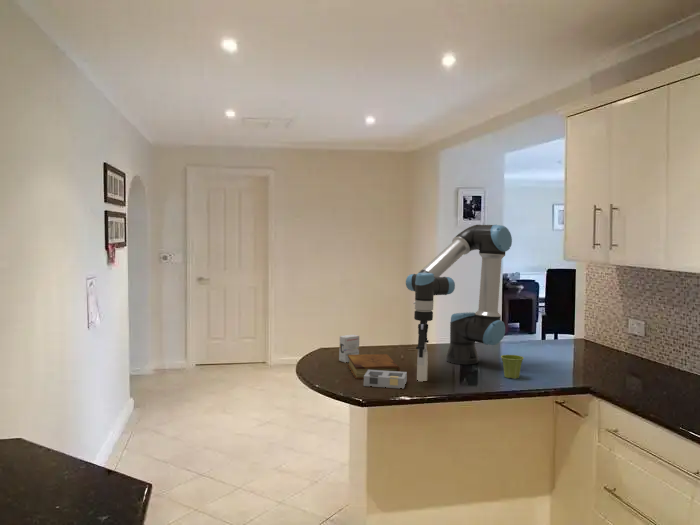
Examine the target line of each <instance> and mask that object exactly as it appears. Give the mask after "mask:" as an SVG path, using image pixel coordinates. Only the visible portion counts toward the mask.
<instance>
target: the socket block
mask: <svg viewBox="0 0 700 525" xmlns="http://www.w3.org/2000/svg"><path fill="white" fill-rule="evenodd" d="M407 377H408V374H407V371H400V372H399V371H383V370H368V371H367V372H366V374H365V375H364V379H363V387H370V386H372V388H385V387H386V388H385V389H400V388H402V389H405V386H406V385H405V384H407V381H408V380H407V379H408V378H407ZM402 389H401V390H402Z"/></svg>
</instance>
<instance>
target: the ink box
mask: <svg viewBox="0 0 700 525" xmlns="http://www.w3.org/2000/svg"><path fill="white" fill-rule="evenodd" d="M338 347H339V351H338V353H339V354H338V361H340V362H342V363H344V364H346V362H347V363H349V358H348V355H360V335H358V334H357V335H356V334H346V335H340V336H339V346H338Z"/></svg>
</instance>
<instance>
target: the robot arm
mask: <svg viewBox="0 0 700 525" xmlns="http://www.w3.org/2000/svg"><path fill="white" fill-rule="evenodd" d="M512 242H513V238H512V234H511V231H510V230H509V228H508V227H506V226H505V225H501V224H475V225H471V226H469V227H467V228H465V229H463V230H462V231H460V232H459V233H458V234H457V235H455V236H454V237H453V238H452V242H451V243H450V244H448V245H447V247H445V248H444V249H443V250H442V251H441V252H440V253H439V254H437V256H435V257H434V258H432V260H431V261H429V263H428V264H426V266H424V267H423V268H422V269H421V270H419V271H418V273H413V274H409V275H408V276H407V277H406V279H405V286H406V288H407V290H409V291H411V292H414V295H415V296H414V301H413V302H412V303H413V305H414V309H415V310H414V317H413V318H414V320H415V321H419V323H418V326H417V329H418V330H417V334H418V339H417V346H416V347H415V350H417V354H418V359H417V358H416V359H417V362H416V366H417V365H423V366H424V356H425V349H426V351H428V350H427V348H428V343H429V342H430V339H428V330H429V324H428V322H430V321H433V317H434V312H433V310H434V296H447V295H451V294H453V293H454V291H455V289H456V282H455V281H454V279H453V278H452V277H451V276H442V275H443V274H444V273H445V272H446V271H447V270H448V269H449V268H451V267H452V266H454V264H455V263H456V262H457V261H458V260H459V259H460V258H461V257H462V256H465V255H468V254H469V253H470V252H472V251H477V250H478V254H479V256H480V257H481V269H480V281H479V282H480V283H479V284H480V285H479V298H478V299H479V300H478V310H477V311H475V312H474V311H472V312H471V311H469V312H467V311H466V312H456V313H452V314H451V317H450V322H449V323H450V324H449V325H450V327H449V328H450V329H449V330H450V332H449V333H450V334H449V336H450V337H449V346H448V349H447V352H446V354H445V361H446V362H447V361H448V362H447V363H450V362H451V364H454V363H455V364H457V365H474V364H478V363H479V355H478V352H477V349H476V343H479V344H484V345H485V346H486V345H487V346H488V345H489V346H496V345H499V343H501V341H502V340H503V339H504V336H505V334H506V325H505V322H504V321H503V320H502V319H501V318H502V315H501V314H500V313H499V311H498V310H499V298H500V287H501V286H500V284H501V270H502V269H501V268H502V259H503V258H504V257H505V256H506V252H508V251H509V250H511V246H512Z"/></svg>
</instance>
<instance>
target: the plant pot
mask: <svg viewBox="0 0 700 525" xmlns="http://www.w3.org/2000/svg"><path fill="white" fill-rule="evenodd" d="M500 358H501V361H502V367H503V375H504V378H506V379H509V378H511V379H515V380H516V379H519V378H520V374H521V368H522V363H523V360H524V359H525V358H524V357H523V356H521V355H515V354H502V355H501V356H500Z"/></svg>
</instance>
